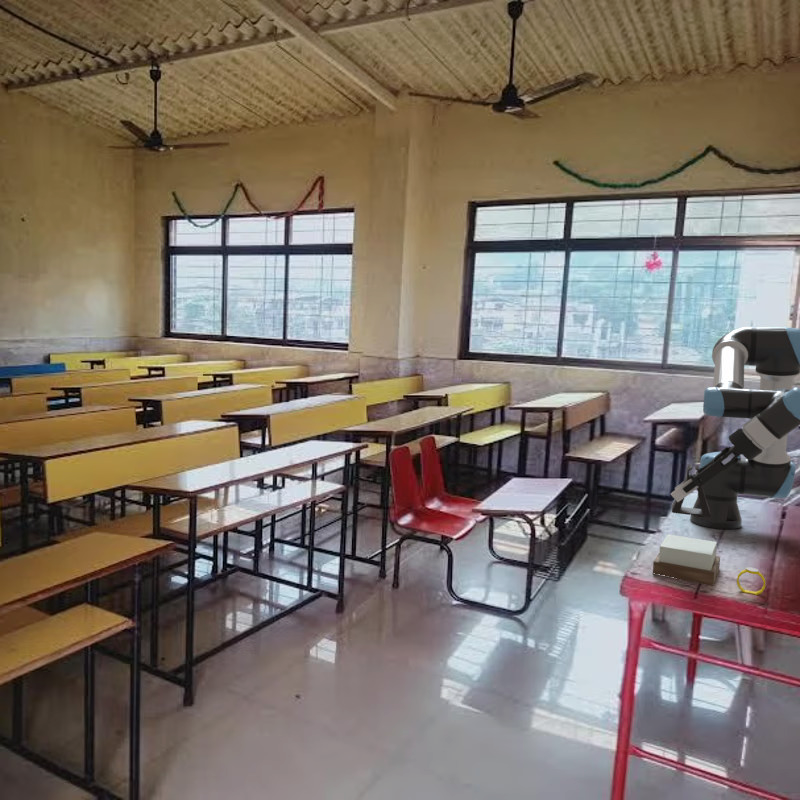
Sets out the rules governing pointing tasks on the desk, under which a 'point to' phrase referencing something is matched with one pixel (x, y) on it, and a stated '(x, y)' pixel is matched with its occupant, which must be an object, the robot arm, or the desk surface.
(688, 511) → the phone stand
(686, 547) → the upper block
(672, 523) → the desk surface
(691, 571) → the lower block
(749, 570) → the watch
